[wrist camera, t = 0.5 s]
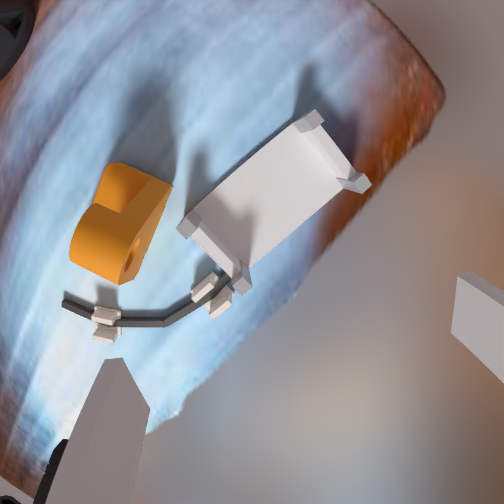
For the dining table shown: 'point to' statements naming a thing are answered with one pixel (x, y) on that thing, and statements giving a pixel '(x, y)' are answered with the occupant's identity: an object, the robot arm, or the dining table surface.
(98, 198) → the bracket
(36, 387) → the dining table surface
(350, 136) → the dining table surface
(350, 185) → the holder
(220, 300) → the cable route
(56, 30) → the dining table surface
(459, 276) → the robot arm
